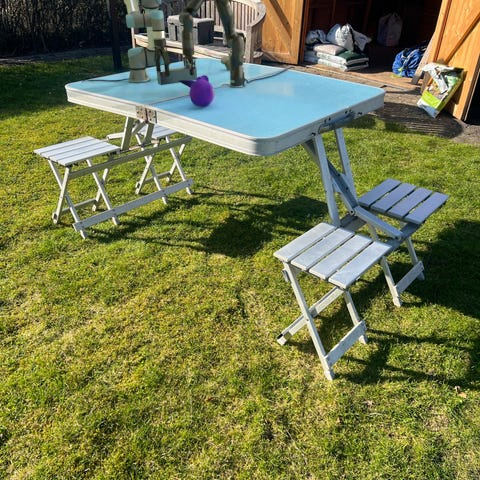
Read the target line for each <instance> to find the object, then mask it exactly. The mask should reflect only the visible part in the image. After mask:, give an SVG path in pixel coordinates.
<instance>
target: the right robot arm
mask: <svg viewBox="0 0 480 480" xmlns="http://www.w3.org/2000/svg"><path fill="white" fill-rule="evenodd" d="M205 1H206V0H189V2H188V4H187V5H186V6H185V7H184V8H183V9H182V10H181V11H180V13H179V14H178V21H179V23H180V24H181V25H182V29H181V48H182V49H181V50H182V55H183V57H182V62H183V67H190V73H191V75H194V69H195V67H196V61H197V59H196V58H194V56H195V41H194V34H193V31H194V17H193V16H194V15H195V14H196V13H198V12H199V10H200V8H201V7H202V5H203V4H204V2H205ZM213 2H214V4H215V7H216V10H217V14H218V17H219V20H220V22H221V25H222V28H223V32H224V35H225V39H226V43H227V46H228V48H229V49H231V50H232V55H231V56H230V70H229V82H230V83H229V86H230V88H243V87H245V86H246V85H245V83H246V84H249V83H252V82H255V81H260V80H264V79H269V78H272V77H275V76H277V75H280V74H282V73H284V72H285V71H287V70H290V69H294V70H296V68H295V66H290V67H287V68H285V69H283V70H281V71H279V72H277V73H275V74H272V75H268V76H265V77H259V78H253V79H251V80H249V81H248V79H246V77H245V71H244V61H243V57H244V56H245V39H244V37H243V36H241V35H239V34H237V32H236V29H235V27H234V11H233V8H232V6H231V2H230V0H213ZM244 58H245V57H244Z"/></svg>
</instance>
